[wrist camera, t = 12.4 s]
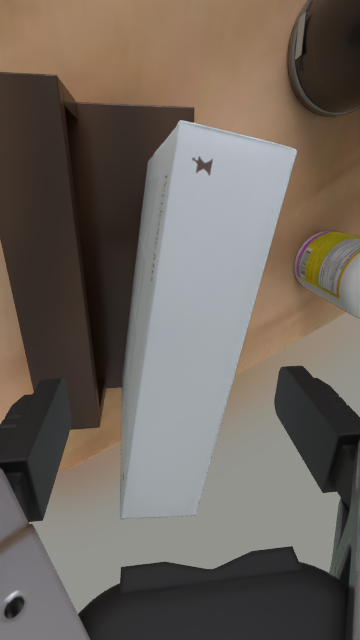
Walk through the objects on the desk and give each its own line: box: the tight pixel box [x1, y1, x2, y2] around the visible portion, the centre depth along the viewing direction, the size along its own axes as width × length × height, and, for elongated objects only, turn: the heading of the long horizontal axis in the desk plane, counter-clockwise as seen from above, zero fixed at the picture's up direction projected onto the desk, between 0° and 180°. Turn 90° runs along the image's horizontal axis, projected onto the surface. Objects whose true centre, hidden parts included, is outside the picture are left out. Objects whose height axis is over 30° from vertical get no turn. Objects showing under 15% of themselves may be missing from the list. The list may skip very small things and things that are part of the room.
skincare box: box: [120, 120, 297, 519], centre depth 22 cm, size 21×5×16 cm, turn 170°
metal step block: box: [0, 72, 194, 430], centre depth 27 cm, size 14×26×9 cm, turn 179°
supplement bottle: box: [294, 231, 360, 319], centre depth 28 cm, size 7×7×13 cm
